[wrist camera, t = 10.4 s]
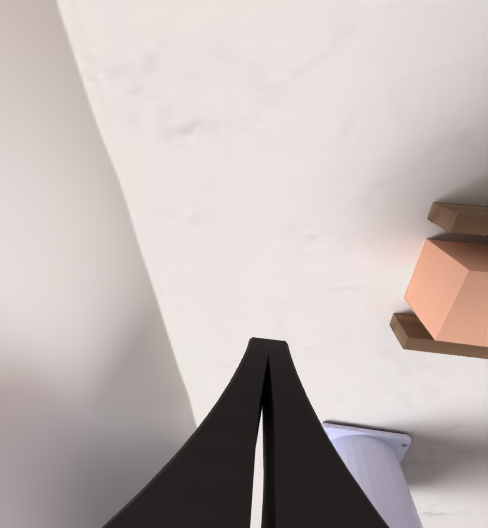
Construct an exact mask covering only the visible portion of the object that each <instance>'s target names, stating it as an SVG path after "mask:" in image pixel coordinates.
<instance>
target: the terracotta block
mask: <svg viewBox="0 0 488 528" xmlns="http://www.w3.org/2000/svg"><path fill="white" fill-rule="evenodd" d="M404 299H405V301H406V302H407V303H408V305H409V306H410V307H411V309H412V310H413V311H414V313H415V314H416V315H417V317H418V318H419V319H420V321H421V322H422V323H423V325H424V326H425V327H426V329H427V330H428V331H429V333H430V334H431V336H432V337H433V338H434V340H436V341H444V342H452V343H460V344H468V345H476V346H484V347H488V245H484V244H474V243H464V242H453V241H443V240H433V239H426V241H425V244H424V246H423V249H422V252H421V254H420V257H419V259H418V262H417V265H416V267H415V270H414V272H413V275H412V278H411V280H410V283H409V285H408V288H407V290H406V293H405V296H404Z"/></svg>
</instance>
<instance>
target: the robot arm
mask: <svg viewBox="0 0 488 528" xmlns="http://www.w3.org/2000/svg"><path fill="white" fill-rule="evenodd" d="M261 411H262V415H263V467H264V481H263V505H262V523H261V528H423V527H422V524H421V521H420V518H419V516H418V513H417V510H416V507H415V505H414V502H413V499H412V496H411V494H410V491H409V488H408V485H407V482H406V480H405V477H404V474H403V471H402V469H401V466H400V463H401V461H402V459H403V458H404V456H405V454H406V452H407V450H408V448H409V446H410V444H411V442H412V441H411V438H410V436H408V435H405V434H398V433H391V432H384V431H377V430H370V429H363V428H356V427H349V426H342V425H335V424H328V423H323V424H321V423H320V421H319V419H318V417H317V415H316V413H315V411H314V409H313V407H312V405H311V403H310V401H309V399H308V397H307V395H306V393H305V390H304V388H303V386H302V384H301V381H300V379H299V377H298V374H297V372H296V369H295V366H294V364H293V361H292V358H291V354H290V351H289V347H288V344H287V343H286V341H280V340H271V339H263V338H255V337H252V338H251V339H250V340H249V343H248V346H247V349H246V352H245V354H244V356H243V358H242V360H241V362H240V364H239V366H238V368H237V370H236V372H235V374H234V375H233V377H232V379H231V381H230V382H229V384H228V386H227V387H226V389H225V390H224V392H223V393H222V395H221V396H220V398H219V400H218V401H217V403H216V404H215V405H214V407H213V408H212V410H211V411H210V412H209V414H208V415H207V417H206V418H205V419H204V420H203V422H202V423H201V424H200V426H199V427H198V428H197V429H196V431H195V432H194V433H193V434H192V436H191V437H190V438H189V439H188V441H187V442H186V443H185V444H184V445H183V446H182V448H181V449H180V450H179V451H178V452H177V453H176V454H175V456H174V457H173V458H172V459H171V460H170V461H169V462H168V463H167V464H166V465H165V466H164V467H163V468H162V469H161V471H160V472H159V473H158V474H157V475H156V476H155V477H154V478H153V479H152V480H151V481H150V482H149V483H148V484H147V485H146V486H145V487H144V488H143V489H142V490H141V491H140V492H139V493H138V494H137V495H136V496H135V497H134V498H133V499H132V500H131V501H130V502H129V503H128V504H127V505H126V506H125V507H123V508H122V509H121V510H120V511H119V512H118V513H117V514H116V515H115V516H114V517H113V518H112V519H111V520H110V521H108V522H107V524H105V525H104V526H103V527H102V528H250V521H251V506H252V491H253V476H254V462H255V448H256V442H257V436H258V430H259V423H260V417H261Z"/></svg>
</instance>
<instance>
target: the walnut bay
mask: <svg viewBox="0 0 488 528" xmlns="http://www.w3.org/2000/svg"><path fill="white" fill-rule="evenodd" d="M427 219H428V220H430V221H431V222H433V223H435V224H436V225H438V226H440V227H441V228H443V229H445V230H446V231H448V232H450V233H459V234H472V235H484V236H488V207H486V206H472V205H459V204H445V203H433V204H432V207H431V210H430V213H429V215H428V218H427ZM390 327H391V328H392V330H393V332H394V334H395V335H396V337H397V339H398V341H399V342H400V344H401V346H402V348H403V349H407V350H415V351H424V352H432V353H441V354H449V355H458V356H466V357H475V358H483V359H488V347H484V346H476V345H468V344H460V343H452V342H444V341H436V340H434V338H433V337H432V336H431V334H430V333H429V331H428V330H427V329H426V327H425V326H424V325H423V323H422V322H421V321H420V319H419V318H418V317H417V316H410V315H401V314H393V316H392V319H391V322H390Z"/></svg>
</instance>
